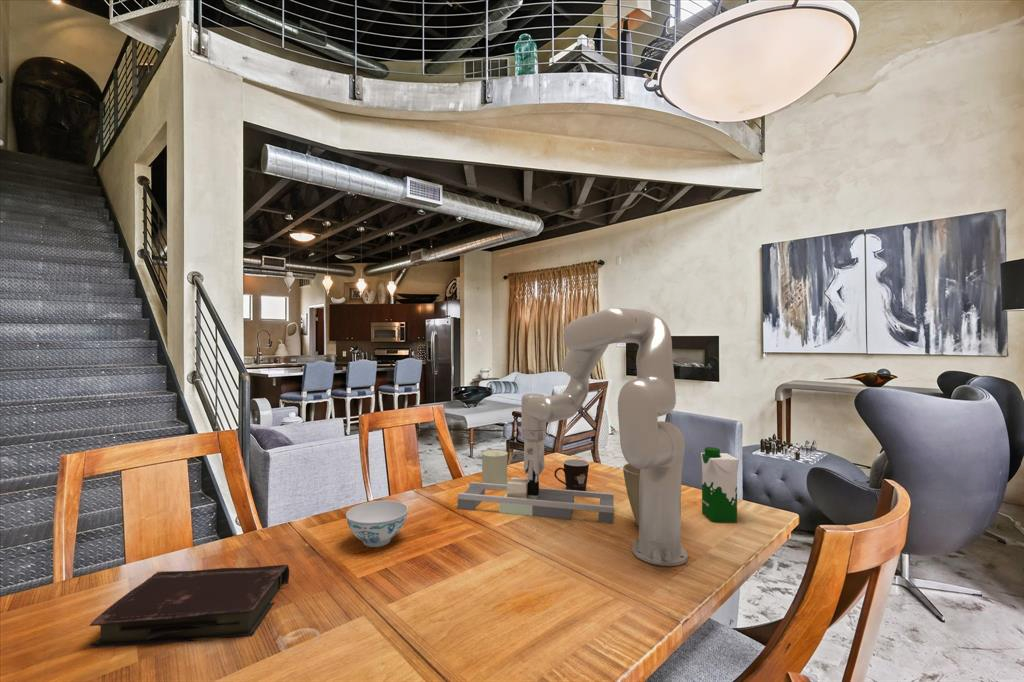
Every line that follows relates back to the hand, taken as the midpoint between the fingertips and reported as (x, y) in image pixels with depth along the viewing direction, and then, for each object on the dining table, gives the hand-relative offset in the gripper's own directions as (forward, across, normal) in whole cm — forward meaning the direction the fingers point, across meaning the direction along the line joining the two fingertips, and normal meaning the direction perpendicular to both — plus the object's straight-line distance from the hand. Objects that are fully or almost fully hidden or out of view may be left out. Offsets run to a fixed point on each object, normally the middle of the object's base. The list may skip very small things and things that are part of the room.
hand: (533, 494), depth 137 cm
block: (+1, 0, +5) cm, 5 cm away
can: (+4, +18, +17) cm, 25 cm away
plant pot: (+4, -5, -34) cm, 35 cm away
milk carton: (+4, +6, -54) cm, 54 cm away
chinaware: (+4, -32, +34) cm, 47 cm away
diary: (+5, -67, +50) cm, 84 cm away
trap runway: (+4, 0, -1) cm, 4 cm away
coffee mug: (+4, +18, -10) cm, 21 cm away
